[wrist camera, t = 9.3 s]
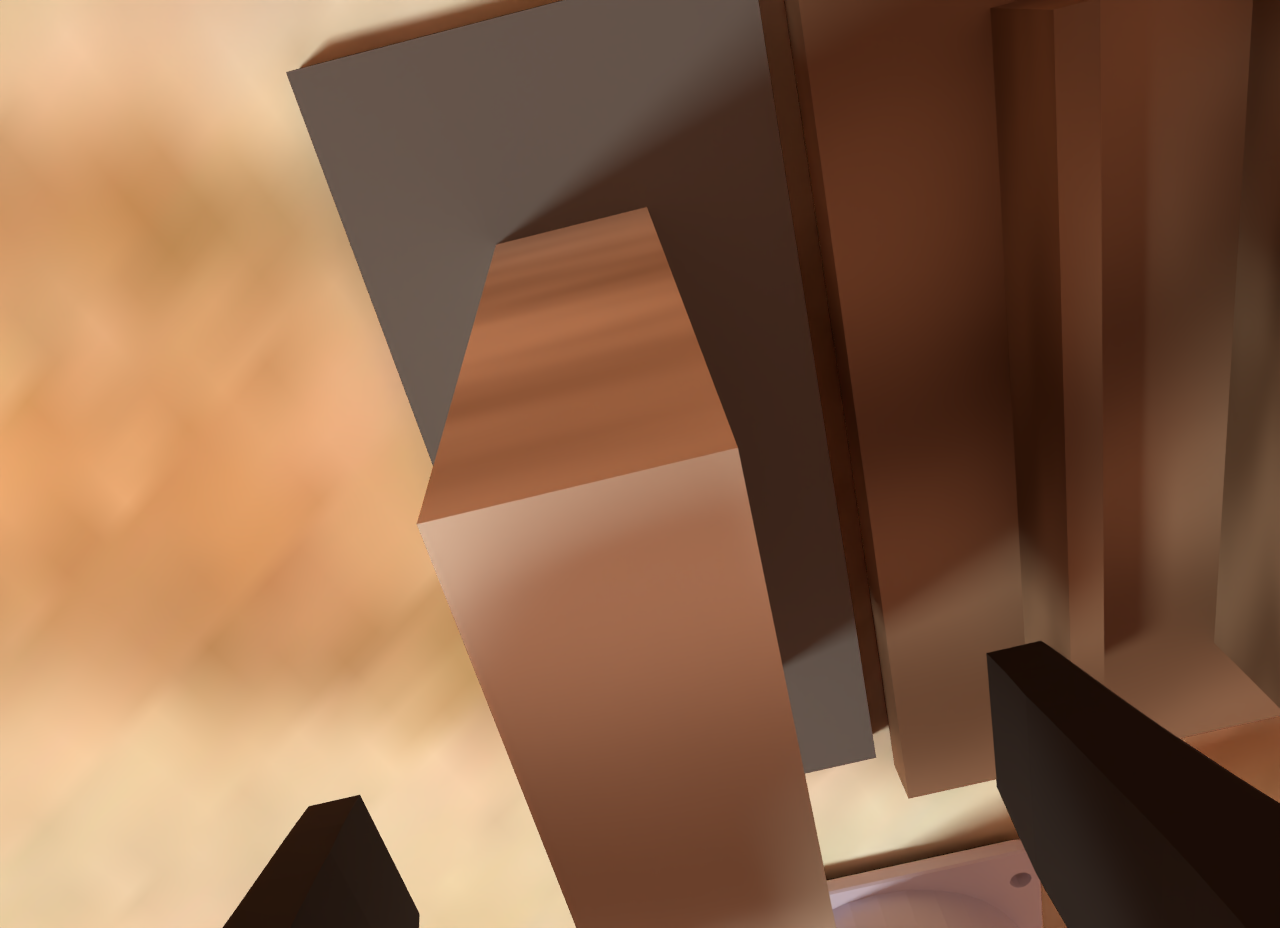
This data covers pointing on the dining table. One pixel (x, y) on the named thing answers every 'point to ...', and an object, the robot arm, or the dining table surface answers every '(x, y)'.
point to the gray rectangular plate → (597, 188)
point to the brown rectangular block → (621, 593)
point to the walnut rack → (1055, 347)
